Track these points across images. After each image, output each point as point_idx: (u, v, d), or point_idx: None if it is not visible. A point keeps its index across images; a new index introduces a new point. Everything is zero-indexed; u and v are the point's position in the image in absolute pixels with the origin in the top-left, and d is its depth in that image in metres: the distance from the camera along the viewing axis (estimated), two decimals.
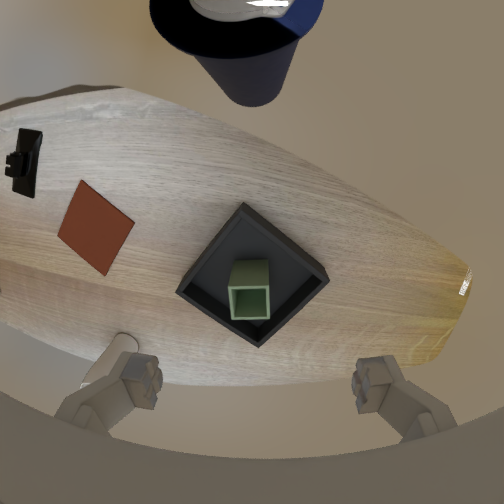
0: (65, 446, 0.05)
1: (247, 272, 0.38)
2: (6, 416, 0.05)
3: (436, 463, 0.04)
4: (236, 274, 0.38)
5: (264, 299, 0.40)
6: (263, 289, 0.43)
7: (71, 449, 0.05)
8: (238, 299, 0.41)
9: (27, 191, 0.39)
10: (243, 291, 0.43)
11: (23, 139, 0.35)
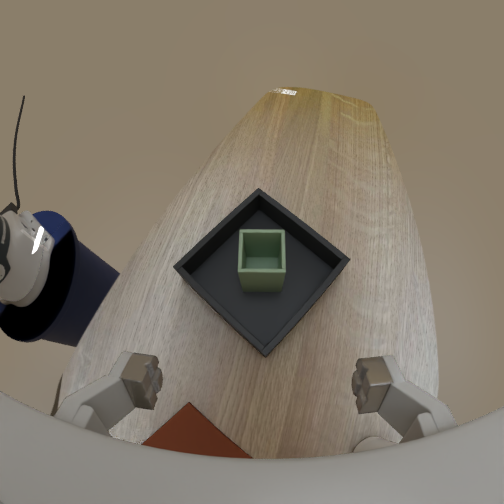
0: (65, 446, 0.05)
1: None
2: (6, 416, 0.05)
3: (436, 463, 0.04)
4: None
5: (279, 250, 0.35)
6: (278, 260, 0.38)
7: (71, 449, 0.05)
8: None
9: None
10: None
11: None
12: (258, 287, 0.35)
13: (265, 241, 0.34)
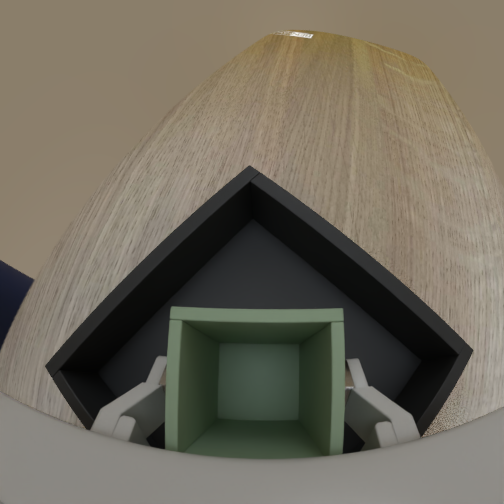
0: (65, 446, 0.05)
1: None
2: (6, 416, 0.05)
3: (436, 463, 0.04)
4: None
5: (308, 343, 0.12)
6: (299, 351, 0.14)
7: (71, 449, 0.05)
8: (306, 427, 0.10)
9: None
10: (300, 408, 0.12)
11: None
12: None
13: (269, 332, 0.10)
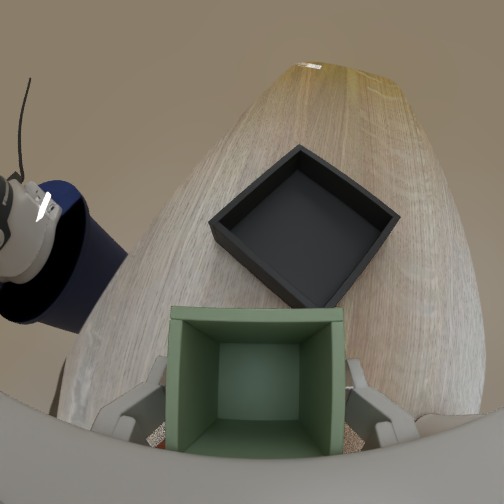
0: (65, 446, 0.05)
1: None
2: (6, 416, 0.05)
3: (436, 463, 0.04)
4: None
5: (308, 343, 0.12)
6: (299, 351, 0.14)
7: (71, 449, 0.05)
8: (306, 426, 0.10)
9: None
10: (300, 408, 0.12)
11: None
12: None
13: (270, 332, 0.10)
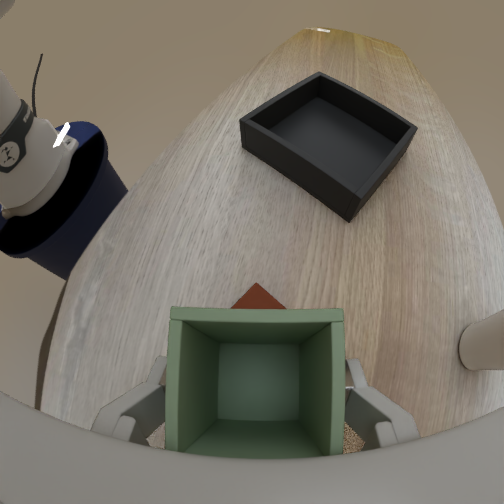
0: (65, 446, 0.05)
1: None
2: (6, 416, 0.05)
3: (436, 463, 0.04)
4: None
5: (308, 343, 0.11)
6: (299, 351, 0.14)
7: (71, 449, 0.05)
8: (306, 427, 0.10)
9: None
10: (300, 408, 0.12)
11: None
12: None
13: (269, 332, 0.10)
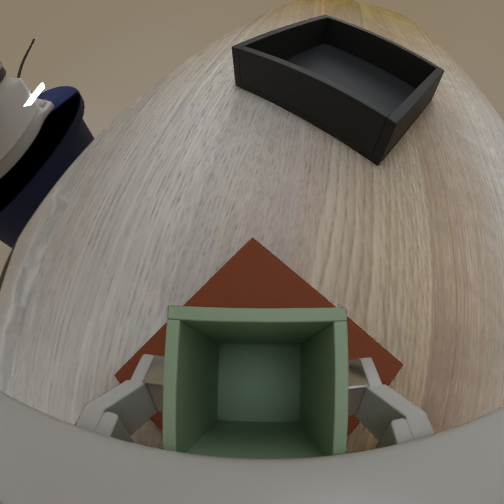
0: (65, 446, 0.05)
1: None
2: (6, 416, 0.05)
3: (436, 463, 0.04)
4: None
5: (309, 343, 0.11)
6: (300, 351, 0.14)
7: (71, 449, 0.05)
8: (307, 428, 0.10)
9: None
10: (301, 409, 0.12)
11: None
12: None
13: (270, 332, 0.10)
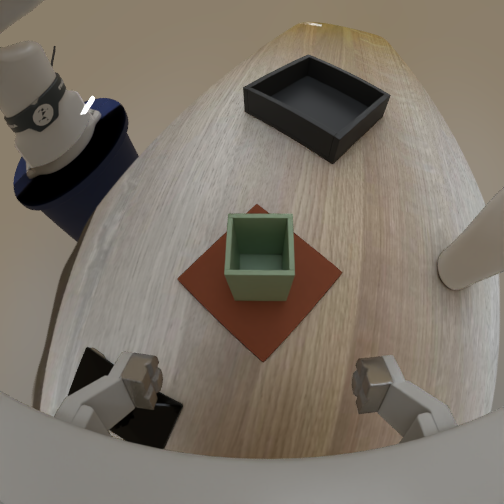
0: (65, 446, 0.05)
1: None
2: (6, 416, 0.05)
3: (436, 463, 0.04)
4: None
5: (284, 244, 0.26)
6: (281, 257, 0.28)
7: (71, 449, 0.05)
8: None
9: (165, 413, 0.23)
10: None
11: None
12: (255, 295, 0.25)
13: (265, 231, 0.24)
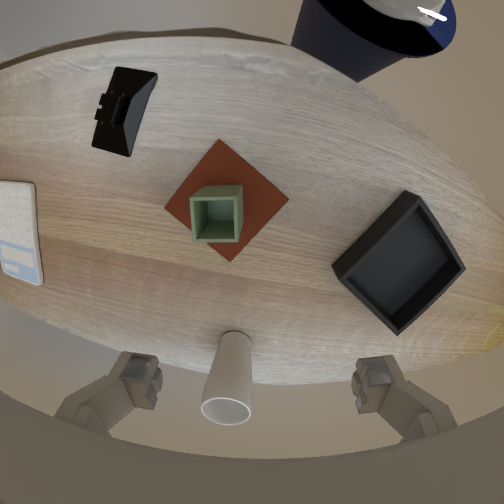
0: (65, 446, 0.05)
1: (215, 190, 0.32)
2: (6, 416, 0.05)
3: (436, 463, 0.04)
4: (203, 191, 0.32)
5: None
6: None
7: (71, 449, 0.05)
8: (205, 226, 0.35)
9: (121, 146, 0.34)
10: (213, 221, 0.37)
11: (123, 80, 0.31)
12: None
13: None
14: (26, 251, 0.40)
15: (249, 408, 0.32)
